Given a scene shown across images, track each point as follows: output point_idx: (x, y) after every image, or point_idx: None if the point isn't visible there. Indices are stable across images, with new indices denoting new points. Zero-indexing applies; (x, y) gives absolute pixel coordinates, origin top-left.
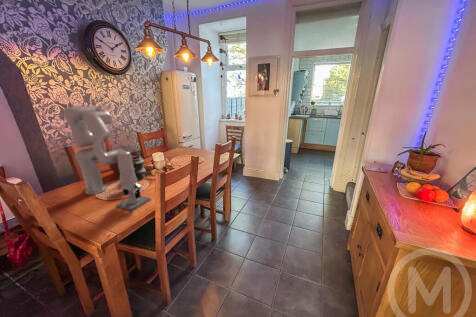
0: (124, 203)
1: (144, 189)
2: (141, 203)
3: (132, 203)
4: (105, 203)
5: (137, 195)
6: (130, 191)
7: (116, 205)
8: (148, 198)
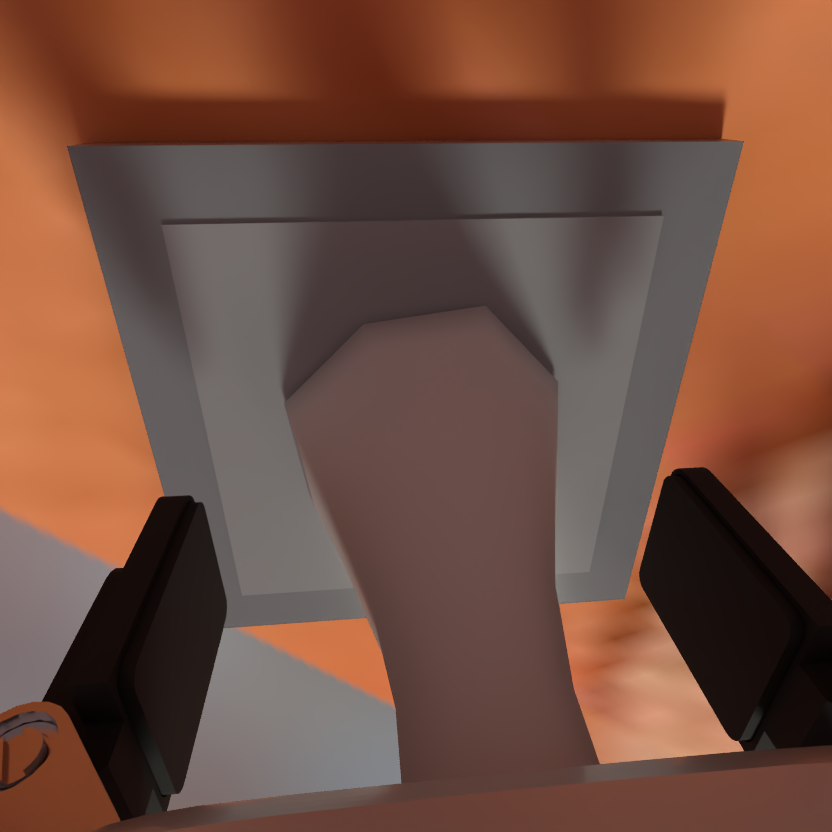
0: (574, 298)
1: (610, 726)
2: (186, 457)
3: (335, 362)
4: None
5: (91, 618)
6: (440, 690)
7: (719, 145)
8: (245, 616)
